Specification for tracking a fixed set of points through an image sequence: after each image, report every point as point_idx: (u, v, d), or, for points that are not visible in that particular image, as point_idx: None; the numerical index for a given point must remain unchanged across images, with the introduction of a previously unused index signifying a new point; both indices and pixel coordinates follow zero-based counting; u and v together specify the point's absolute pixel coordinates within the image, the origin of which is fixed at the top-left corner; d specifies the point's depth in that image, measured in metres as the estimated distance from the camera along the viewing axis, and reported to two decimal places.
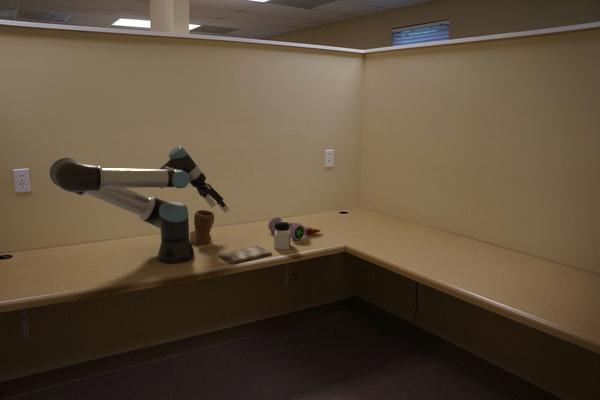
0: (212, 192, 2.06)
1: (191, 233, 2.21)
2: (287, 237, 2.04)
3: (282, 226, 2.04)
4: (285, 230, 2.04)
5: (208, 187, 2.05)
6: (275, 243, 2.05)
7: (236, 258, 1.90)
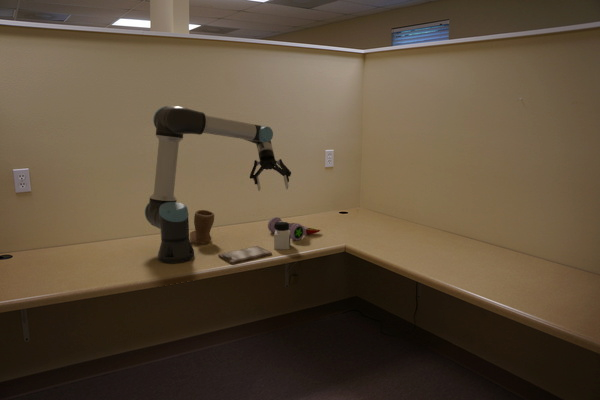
0: None
1: (191, 233, 2.21)
2: (287, 237, 2.04)
3: (282, 226, 2.04)
4: (285, 230, 2.04)
5: None
6: (275, 243, 2.05)
7: (236, 258, 1.90)
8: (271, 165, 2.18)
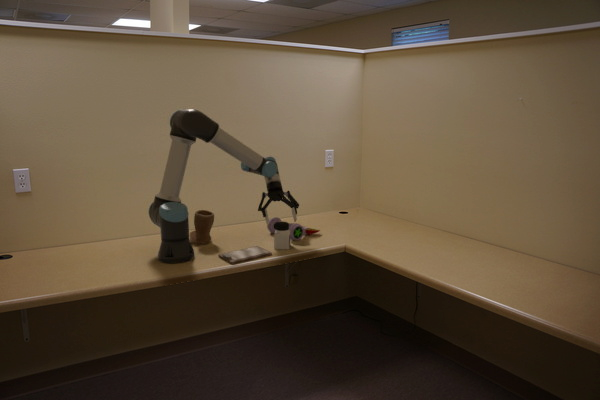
0: None
1: (191, 233, 2.21)
2: (287, 237, 2.04)
3: (282, 226, 2.04)
4: (285, 230, 2.04)
5: None
6: (275, 243, 2.05)
7: (236, 258, 1.90)
8: (279, 197, 2.18)
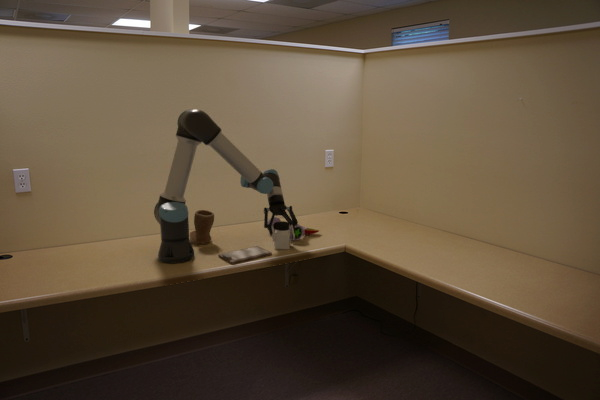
0: None
1: (191, 233, 2.21)
2: (287, 237, 2.04)
3: (282, 226, 2.04)
4: (285, 230, 2.04)
5: None
6: (275, 243, 2.05)
7: (236, 258, 1.90)
8: (281, 211, 2.11)
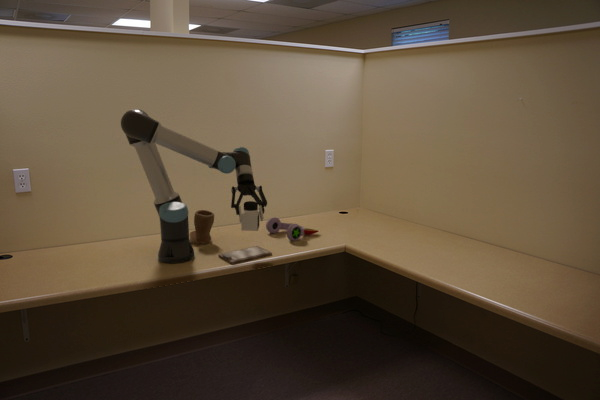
0: None
1: (191, 233, 2.21)
2: (255, 218, 1.91)
3: (250, 206, 1.91)
4: (253, 210, 1.92)
5: (261, 188, 2.02)
6: (242, 224, 1.92)
7: (236, 258, 1.90)
8: (250, 191, 1.99)
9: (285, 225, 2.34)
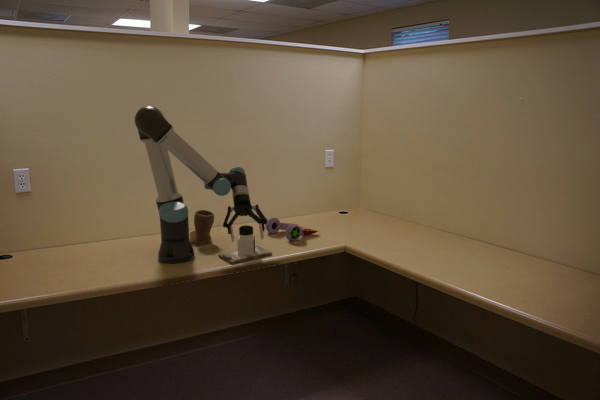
0: None
1: (191, 233, 2.21)
2: (251, 242, 1.93)
3: (246, 230, 1.92)
4: (249, 234, 1.93)
5: None
6: (239, 248, 1.93)
7: (236, 258, 1.90)
8: (246, 211, 1.99)
9: (284, 225, 2.34)
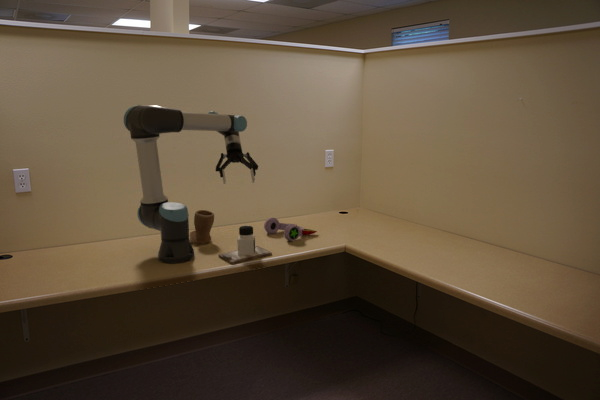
0: None
1: (191, 233, 2.21)
2: (251, 242, 1.93)
3: (246, 230, 1.92)
4: (249, 235, 1.93)
5: None
6: (239, 249, 1.93)
7: (236, 258, 1.90)
8: (238, 158, 2.15)
9: (283, 225, 2.33)
